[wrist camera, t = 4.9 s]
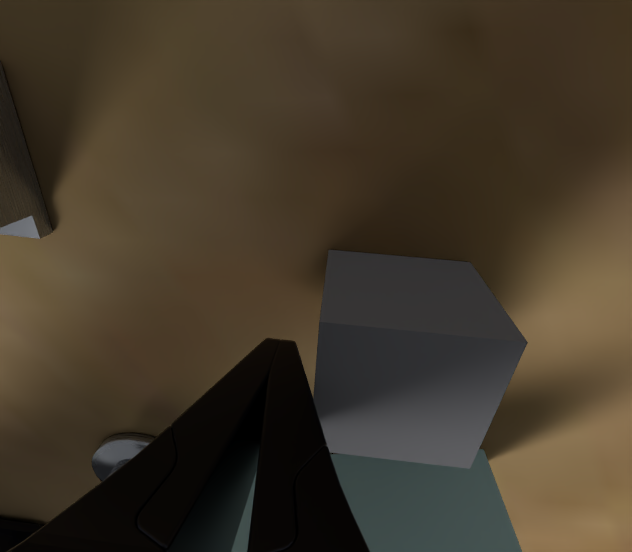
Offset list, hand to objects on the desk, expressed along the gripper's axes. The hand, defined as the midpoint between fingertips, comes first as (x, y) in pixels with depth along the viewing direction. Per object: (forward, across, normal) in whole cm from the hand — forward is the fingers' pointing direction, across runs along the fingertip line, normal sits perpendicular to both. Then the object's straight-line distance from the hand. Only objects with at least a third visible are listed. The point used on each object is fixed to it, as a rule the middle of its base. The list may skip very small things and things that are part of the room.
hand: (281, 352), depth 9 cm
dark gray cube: (+2, -3, 0) cm, 4 cm away
